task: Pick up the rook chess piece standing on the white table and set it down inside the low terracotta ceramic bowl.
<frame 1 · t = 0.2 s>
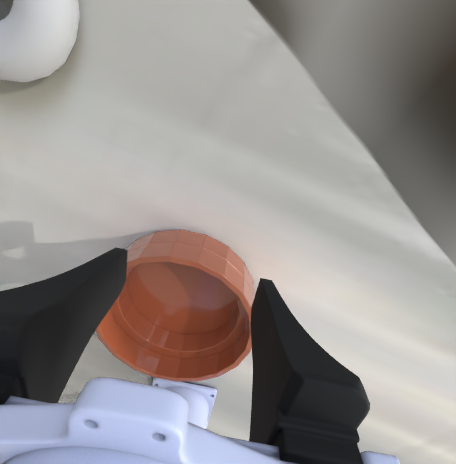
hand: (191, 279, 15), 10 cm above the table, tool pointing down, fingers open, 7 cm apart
bowl: (184, 290, 28), on the table
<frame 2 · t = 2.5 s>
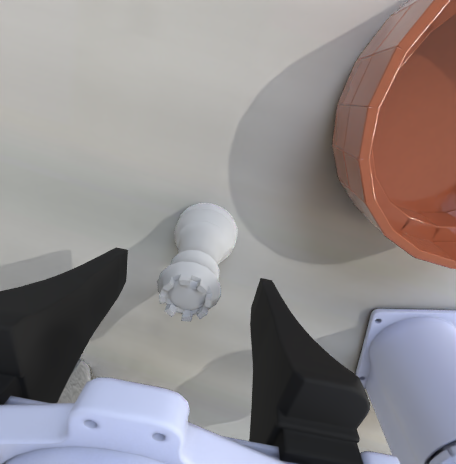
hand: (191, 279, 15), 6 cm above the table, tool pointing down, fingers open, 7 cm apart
rook chess piece: (208, 227, 20), on the table
grey rectangular frame: (72, 359, 28), on the table
bowl: (454, 120, 16), on the table
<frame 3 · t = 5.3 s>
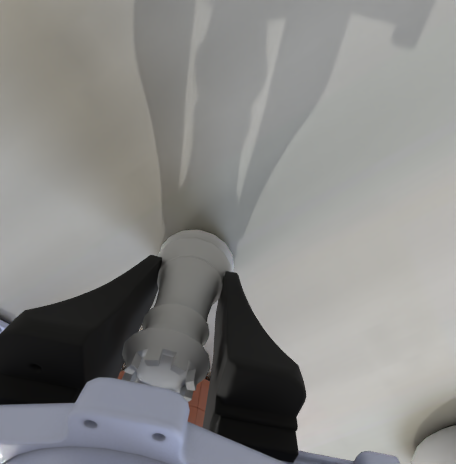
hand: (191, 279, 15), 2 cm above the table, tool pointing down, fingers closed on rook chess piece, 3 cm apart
rook chess piece: (198, 257, 17), on the table, touching gripper
bowl: (168, 417, 24), on the table
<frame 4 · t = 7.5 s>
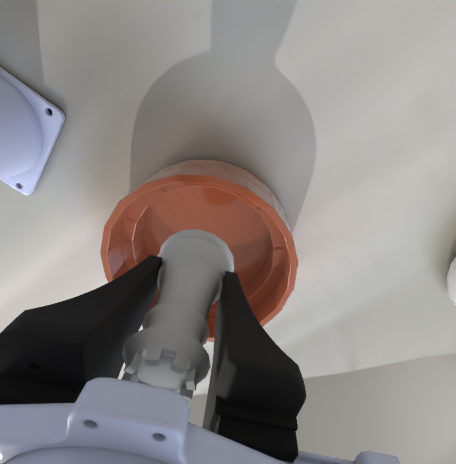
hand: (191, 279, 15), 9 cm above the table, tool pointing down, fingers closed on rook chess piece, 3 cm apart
rook chess piece: (198, 257, 17), point 7 cm above the table, touching gripper
bowl: (207, 238, 24), on the table
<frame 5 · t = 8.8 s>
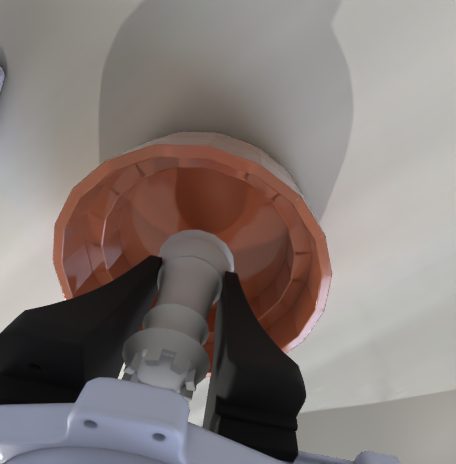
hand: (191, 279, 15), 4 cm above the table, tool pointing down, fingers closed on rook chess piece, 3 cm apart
rook chess piece: (198, 257, 17), point 2 cm above the table, touching gripper
bowl: (203, 240, 19), on the table
when the fingers open (2 cm above the table, at t = 9.8 s): rook chess piece stays where it is, resting on bowl.
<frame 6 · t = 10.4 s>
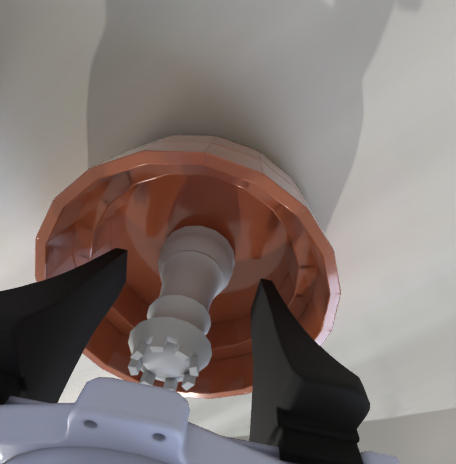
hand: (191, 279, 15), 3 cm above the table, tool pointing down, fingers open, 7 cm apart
rook chess piece: (199, 253, 17), resting on bowl
bowl: (201, 250, 17), on the table
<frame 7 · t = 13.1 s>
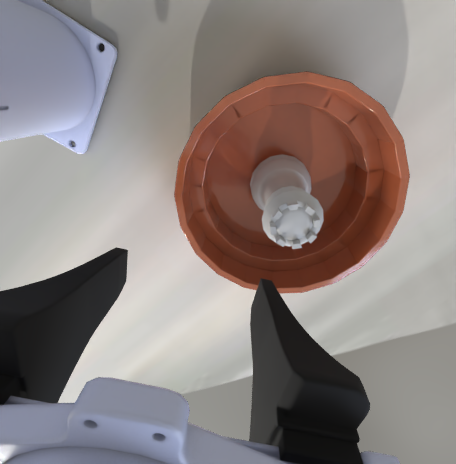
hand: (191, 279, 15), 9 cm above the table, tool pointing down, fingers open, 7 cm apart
rook chess piece: (278, 182, 21), resting on bowl
bowl: (278, 181, 21), on the table
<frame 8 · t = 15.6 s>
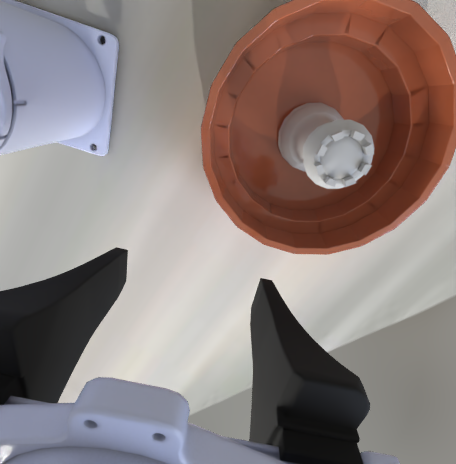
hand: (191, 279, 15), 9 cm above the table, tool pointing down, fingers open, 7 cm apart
rook chess piece: (308, 136, 20), resting on bowl
bowl: (308, 135, 20), on the table
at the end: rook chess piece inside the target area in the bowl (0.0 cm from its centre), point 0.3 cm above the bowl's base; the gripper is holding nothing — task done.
